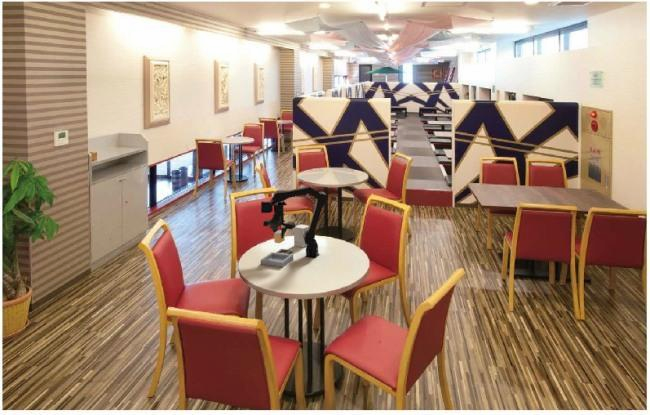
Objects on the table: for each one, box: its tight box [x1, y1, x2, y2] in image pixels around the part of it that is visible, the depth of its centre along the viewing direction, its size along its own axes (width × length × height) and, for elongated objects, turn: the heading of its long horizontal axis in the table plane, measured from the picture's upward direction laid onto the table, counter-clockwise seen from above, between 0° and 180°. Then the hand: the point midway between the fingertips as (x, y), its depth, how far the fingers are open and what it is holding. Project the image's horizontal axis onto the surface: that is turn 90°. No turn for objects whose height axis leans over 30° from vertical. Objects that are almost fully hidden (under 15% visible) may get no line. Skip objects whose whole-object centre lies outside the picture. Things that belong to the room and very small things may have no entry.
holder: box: [275, 248, 293, 255], centre depth 314 cm, size 8×10×1 cm
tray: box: [260, 251, 294, 269], centre depth 300 cm, size 14×14×3 cm
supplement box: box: [293, 223, 310, 248], centre depth 328 cm, size 7×7×13 cm
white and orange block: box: [273, 229, 286, 244], centre depth 305 cm, size 4×6×6 cm, turn 156°
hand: (279, 238), depth 305 cm, fingers closed on white and orange block, 3 cm apart
